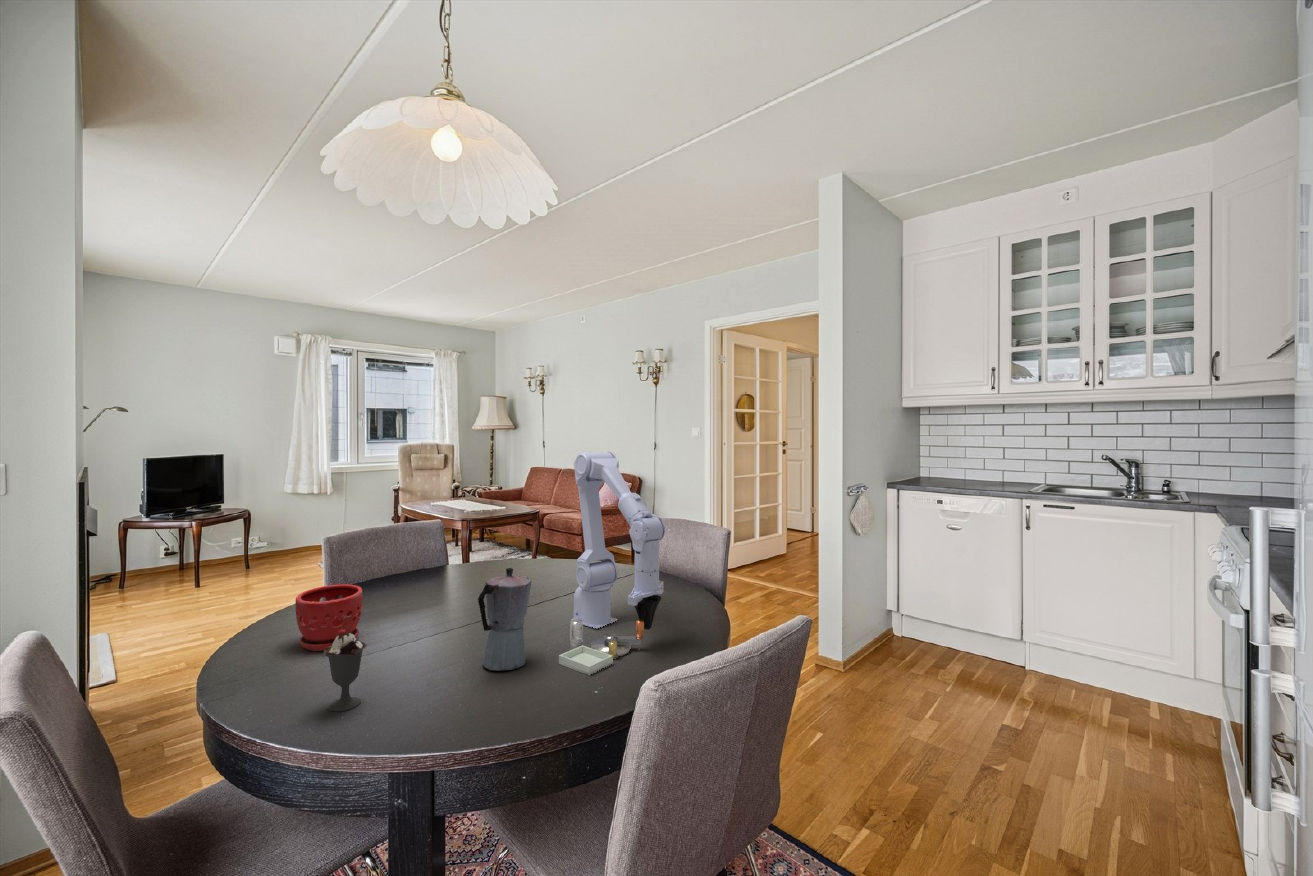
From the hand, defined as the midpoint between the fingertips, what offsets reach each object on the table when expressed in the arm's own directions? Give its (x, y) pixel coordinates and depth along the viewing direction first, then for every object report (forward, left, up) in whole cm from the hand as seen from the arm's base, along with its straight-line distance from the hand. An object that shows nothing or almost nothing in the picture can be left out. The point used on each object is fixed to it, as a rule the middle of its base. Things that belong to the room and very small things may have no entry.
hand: (646, 628), depth 124 cm
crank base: (-4, -7, -4) cm, 9 cm away
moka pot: (-16, -27, -4) cm, 32 cm away
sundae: (-24, -55, -4) cm, 60 cm away
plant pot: (-56, -45, -4) cm, 72 cm away
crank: (-2, -5, -2) cm, 6 cm away
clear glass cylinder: (-10, -12, -4) cm, 16 cm away
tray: (-3, -16, -4) cm, 17 cm away
